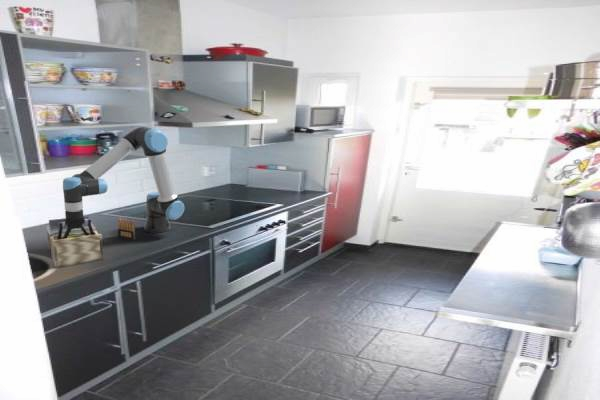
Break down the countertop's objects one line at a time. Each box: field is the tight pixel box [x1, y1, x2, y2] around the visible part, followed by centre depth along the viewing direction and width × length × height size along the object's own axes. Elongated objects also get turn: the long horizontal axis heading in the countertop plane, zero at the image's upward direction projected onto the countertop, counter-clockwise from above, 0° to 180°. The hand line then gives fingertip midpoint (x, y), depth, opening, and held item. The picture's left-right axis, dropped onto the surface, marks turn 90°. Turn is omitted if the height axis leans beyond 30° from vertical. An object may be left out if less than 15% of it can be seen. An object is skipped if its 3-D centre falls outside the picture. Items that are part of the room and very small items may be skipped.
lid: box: [46, 215, 97, 236], centre depth 204 cm, size 20×12×4 cm, turn 127°
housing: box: [46, 229, 104, 269], centre depth 200 cm, size 20×28×13 cm
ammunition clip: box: [117, 217, 137, 241], centre depth 226 cm, size 11×2×12 cm, turn 74°
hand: (77, 253), depth 196 cm, fingers open, 9 cm apart
